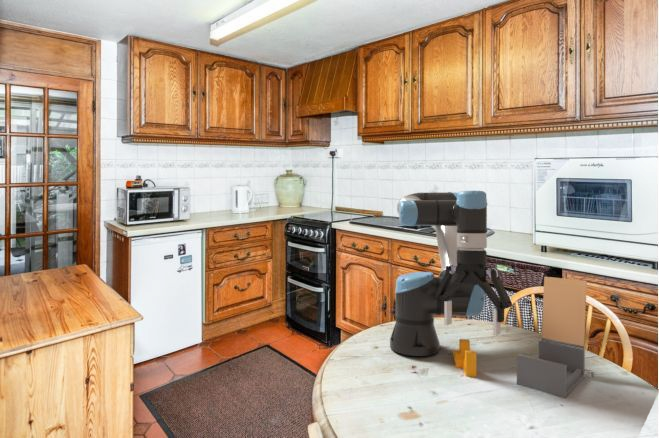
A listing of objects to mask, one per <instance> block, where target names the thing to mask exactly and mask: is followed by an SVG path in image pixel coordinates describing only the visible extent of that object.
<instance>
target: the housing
mask: <svg viewBox="0 0 659 438" xmlns="http://www.w3.org/2000/svg"><path fill="white" fill-rule="evenodd" d="M585 355H586V351H585V348H579V347H574V346H569V345H564V344H559V343H554V342H549V341H544V340H541V339H539V340H538V358H537V357H533V356H530V355H525V354H521V353H518V354H516V385H519V386H521V387H525V388H529V389H533V390H535V391H539V392H544V393H547V394H551V395H554V396H557V397H561V398H567V397H568V395H569V394H570V393H572V391H573V390H574V389H575V388H576V387H577V386H578V385H579V384H580V383H581V382H582V381H583V380H584V379H585V373H586V372H585V371H586V367H585V361H586V360H585V359H586V357H585Z"/></svg>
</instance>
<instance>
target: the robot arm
mask: <svg viewBox="0 0 659 438" xmlns="http://www.w3.org/2000/svg"><path fill="white" fill-rule="evenodd" d="M487 207H488V200H487V193H486V191H484V190H462V191H461V190H460V191H458V192H453V191H447V192H415V193H411V194H410V193H409V194H408V195H405V196H403V197H402V198H401V199H400V200H399V201H398V203H397V205H396V208H397V209H396V210H397V214H398V217H399V218H398V219H399V224H400V225H401V226H406V227H425V226H426V227H429V226H430V227H431V228H432V229H433V230H434V231H435V235H436V236H435V237H436V241H437V249H438V254H439V261H440V268H441V271H440V272H439V273H438V276H435V274H434V273H433V272H431V271H415V272H408V273H404V274H401V275H399V276H397V278H396V280H395V290H394V293H395V323H394V326H393V329H392V332H391V335H390V339H389V347H390V349H391V350H392V351H393V352H395V353H397V354H398V353H399V354H402V355H406V356H413V357H414V356H417V357H424V356H433V355H436V354H437V353H439V352H440V349H441V348H440V345H441V343H440V340H439V336H438V334H437V331H436V328H435V323H434V322H435V320H434V319H435V316H444V317H443V318H444V320H443V323H444V324H443V325H444V326H449V325H452V324H453V320H452V318H453V317H466V318H467V317H478V316H480V315H481V314H482V312H483V310H484V307H485V306H484V305H485V296H487V298H488V299H489V300H490V302H491V303H492V304H493V305H494V307H495V308H494V309H493V310H492V311H493V312H492V313H493V314H492V316H493V317H492V318H493V320H492V322H493V323H492V325H493V327H492V328H493V329H492V330H493V331H492V335H493V336H495V337H497V336H499V335H501V334H502V332H501V329H502V328H501V327H502V324H501V323H503V322H504V321H505V309H509V308H512V307H513V303H512V301H511V298H510V295H509V294H508V292H507V289H506V288H505V286H504V284H503V282H502V280H501V276H500V270H499V268H495V269H488V267H487V261H488V257H487V256H488V255H487V254H488V252H487V250H486V248H487V246H488V241H487V240H488V239H487V238H488V237H487V230H488V227H487V226H488V225H487V224H488V223H487V220H488V216H487V215H488V214H487V213H488V212H487V211H488V208H487ZM487 276H488V277H489V278H490V279H491V282H492V284H493V287H494V288H495V290H496V292H497V293H496V292H495V290H494V288H493V287H492V286H491V285H490V282H489V281H488V280H487V278H486V277H487ZM452 316H453V317H452Z"/></svg>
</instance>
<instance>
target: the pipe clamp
mask: <svg viewBox="0 0 659 438" xmlns="http://www.w3.org/2000/svg"><path fill="white" fill-rule="evenodd" d="M458 342H459V343H458V344H459V346H458V347H459V349H453V350H452V353H453V355H452V358H453V361H454V364H455V368H462V369H463V372H464V375H465V376H466V377H469V378H470V377H473V378H474V377H475V378H477V352H476V350H471V346H470V345H471V344H470V343H471V342H470V340H469V339H464V338H463V339H462V338H461V339H459V341H458Z"/></svg>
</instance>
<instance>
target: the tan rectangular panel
mask: <svg viewBox="0 0 659 438" xmlns="http://www.w3.org/2000/svg"><path fill="white" fill-rule="evenodd" d="M587 282H588V280H583V279H573V278H561V277H552V276H544V279H543V297H542V298H543V300H542V317H541V318H542V320H541V321H542V322H541V339H540V340H542V341H547V342H552V343H557V344H562V345H567V346H572V347H576V348H581V349H585V340H586V339H585V337H586V335H585V334H586V333H585V331H586V310H587V287H588V285H587V284H588V283H587Z"/></svg>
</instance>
